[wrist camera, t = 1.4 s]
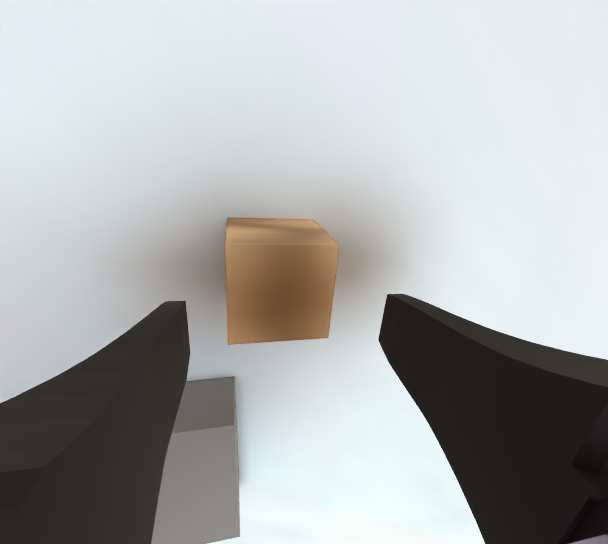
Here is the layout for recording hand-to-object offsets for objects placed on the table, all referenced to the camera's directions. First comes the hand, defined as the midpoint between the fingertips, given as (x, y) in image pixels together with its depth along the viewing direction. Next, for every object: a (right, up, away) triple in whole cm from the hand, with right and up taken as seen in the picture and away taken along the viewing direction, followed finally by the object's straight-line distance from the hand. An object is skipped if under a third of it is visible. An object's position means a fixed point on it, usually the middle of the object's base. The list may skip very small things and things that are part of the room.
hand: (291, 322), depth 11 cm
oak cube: (-1, +2, +6) cm, 7 cm away
